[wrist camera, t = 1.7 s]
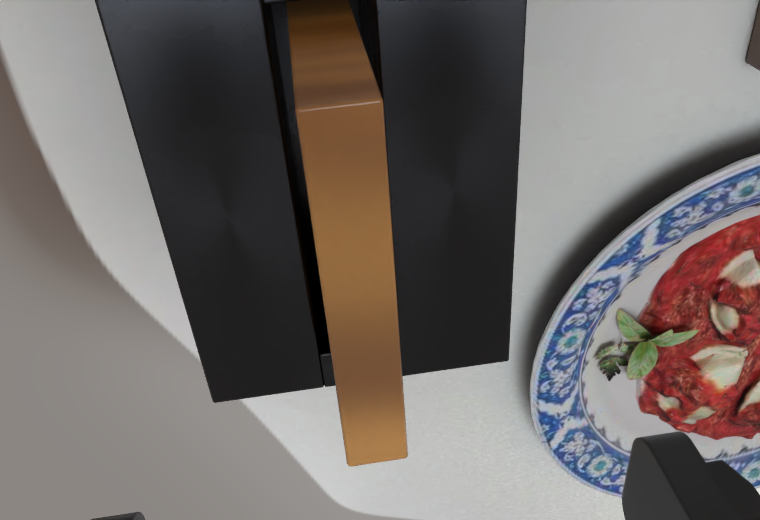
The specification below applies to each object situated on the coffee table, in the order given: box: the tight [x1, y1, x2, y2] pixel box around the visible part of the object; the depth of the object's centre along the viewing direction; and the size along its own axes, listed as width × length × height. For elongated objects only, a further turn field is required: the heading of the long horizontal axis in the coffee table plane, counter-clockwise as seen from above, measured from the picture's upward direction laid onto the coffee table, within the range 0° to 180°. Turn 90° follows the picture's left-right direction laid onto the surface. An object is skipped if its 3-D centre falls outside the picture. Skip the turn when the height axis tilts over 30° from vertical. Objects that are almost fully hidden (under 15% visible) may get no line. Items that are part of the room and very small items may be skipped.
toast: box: [286, 0, 408, 466], centre depth 20 cm, size 10×2×10 cm, turn 4°
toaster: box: [95, 0, 527, 403], centre depth 24 cm, size 15×10×11 cm, turn 4°
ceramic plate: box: [530, 153, 760, 498], centre depth 39 cm, size 26×26×3 cm
